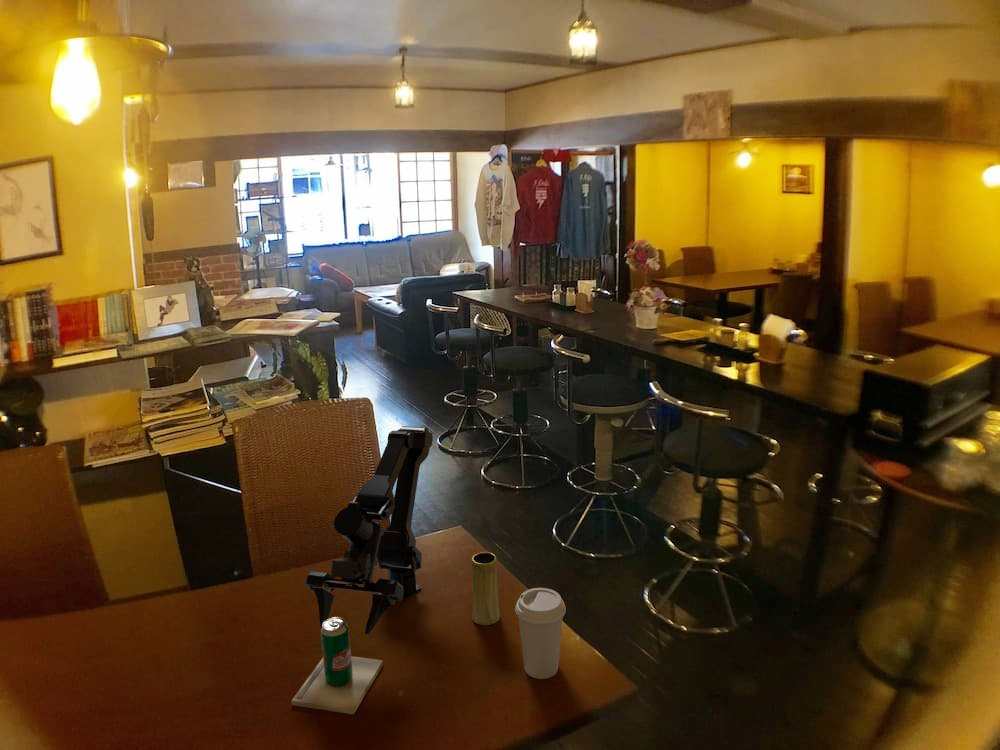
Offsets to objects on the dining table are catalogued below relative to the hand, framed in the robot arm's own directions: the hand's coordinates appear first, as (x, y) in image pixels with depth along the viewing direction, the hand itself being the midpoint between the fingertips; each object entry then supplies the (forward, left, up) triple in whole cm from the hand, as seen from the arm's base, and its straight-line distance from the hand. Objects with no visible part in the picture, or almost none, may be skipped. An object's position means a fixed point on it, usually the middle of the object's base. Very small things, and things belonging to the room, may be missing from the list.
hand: (344, 631), depth 140 cm
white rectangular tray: (+2, -3, -9) cm, 10 cm away
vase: (+6, +31, -9) cm, 33 cm away
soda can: (+2, -3, -8) cm, 9 cm away
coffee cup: (+26, +27, -9) cm, 38 cm away
